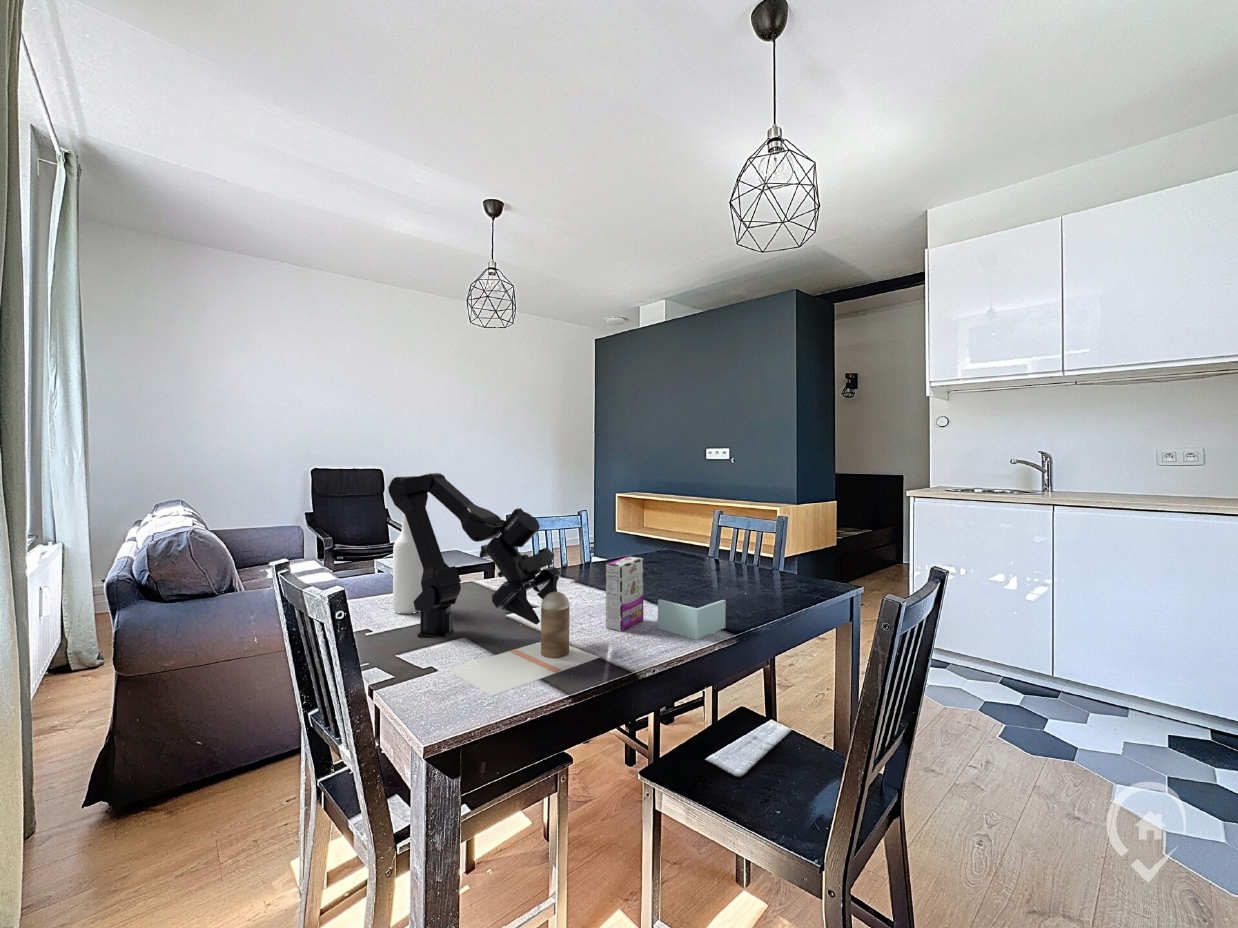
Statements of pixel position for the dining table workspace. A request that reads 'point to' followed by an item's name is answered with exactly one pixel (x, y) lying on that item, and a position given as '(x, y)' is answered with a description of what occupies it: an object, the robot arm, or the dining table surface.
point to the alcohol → (406, 571)
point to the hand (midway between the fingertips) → (550, 617)
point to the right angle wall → (691, 618)
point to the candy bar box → (624, 593)
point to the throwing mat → (517, 668)
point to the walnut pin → (555, 625)
